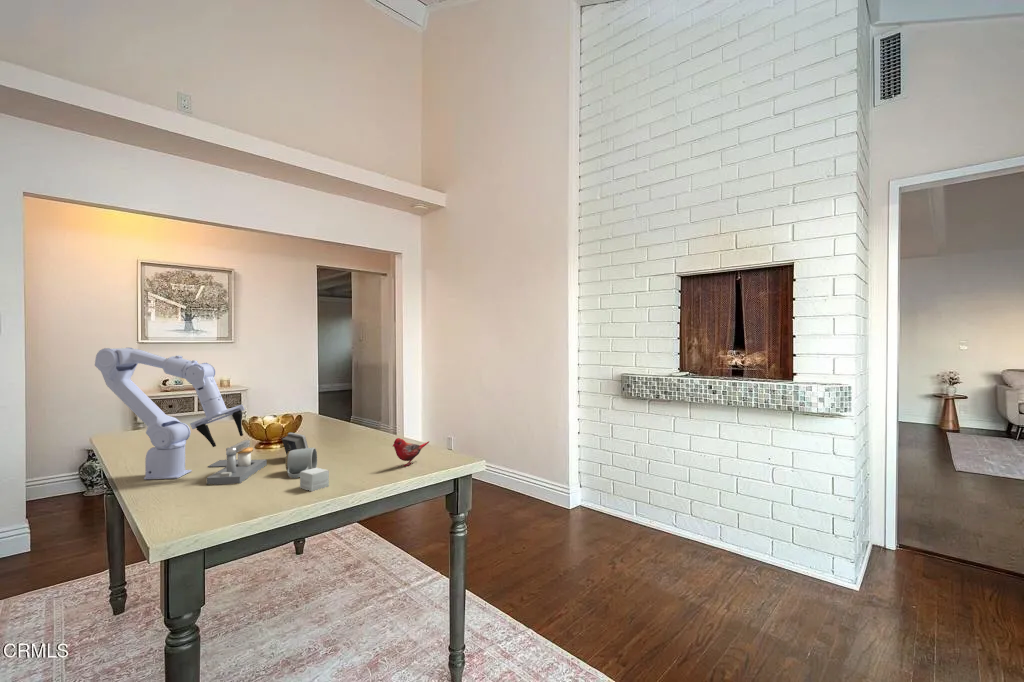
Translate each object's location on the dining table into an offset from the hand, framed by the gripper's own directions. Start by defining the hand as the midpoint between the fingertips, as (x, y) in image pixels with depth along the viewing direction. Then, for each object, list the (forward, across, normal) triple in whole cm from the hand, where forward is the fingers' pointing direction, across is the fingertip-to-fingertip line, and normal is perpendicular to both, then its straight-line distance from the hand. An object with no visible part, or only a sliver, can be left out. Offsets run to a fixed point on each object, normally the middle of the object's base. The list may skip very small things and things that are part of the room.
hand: (228, 441), depth 145 cm
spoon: (+4, +1, 0) cm, 4 cm away
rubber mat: (+7, -4, +17) cm, 19 cm away
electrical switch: (+15, +15, +14) cm, 25 cm away
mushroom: (+11, 0, +5) cm, 12 cm away
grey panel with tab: (+11, -1, +2) cm, 11 cm away
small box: (+22, +17, -22) cm, 35 cm away
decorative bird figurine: (+30, +47, -10) cm, 57 cm away
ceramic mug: (+18, +15, -6) cm, 24 cm away
